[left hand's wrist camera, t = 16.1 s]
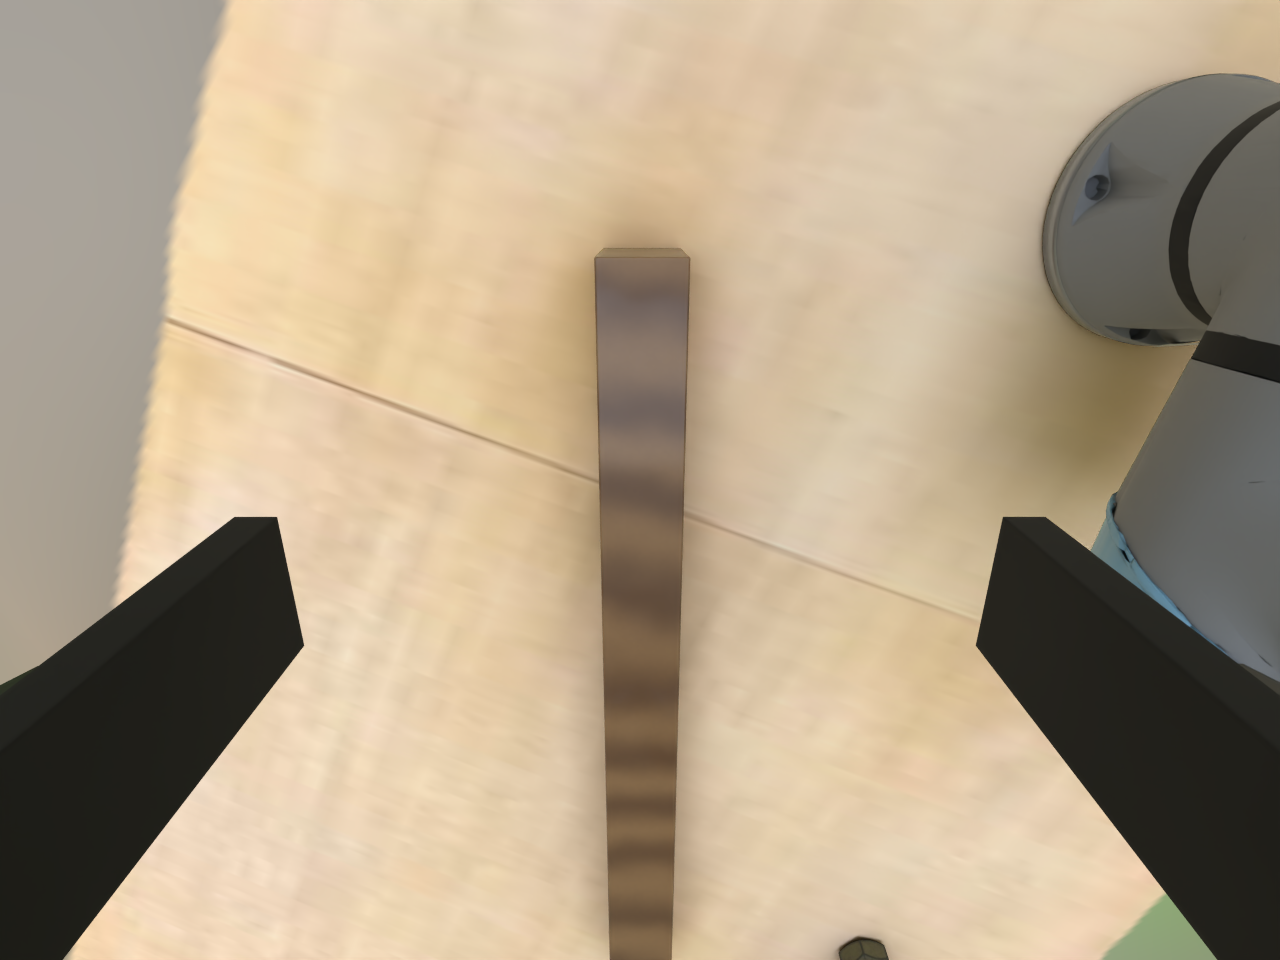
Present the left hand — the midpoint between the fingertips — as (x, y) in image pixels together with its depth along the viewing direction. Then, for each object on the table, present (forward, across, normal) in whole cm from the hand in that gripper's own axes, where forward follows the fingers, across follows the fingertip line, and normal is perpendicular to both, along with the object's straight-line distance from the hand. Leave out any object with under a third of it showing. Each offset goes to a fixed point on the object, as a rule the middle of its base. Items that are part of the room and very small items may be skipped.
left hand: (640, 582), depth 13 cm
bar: (+35, 0, -28) cm, 44 cm away
